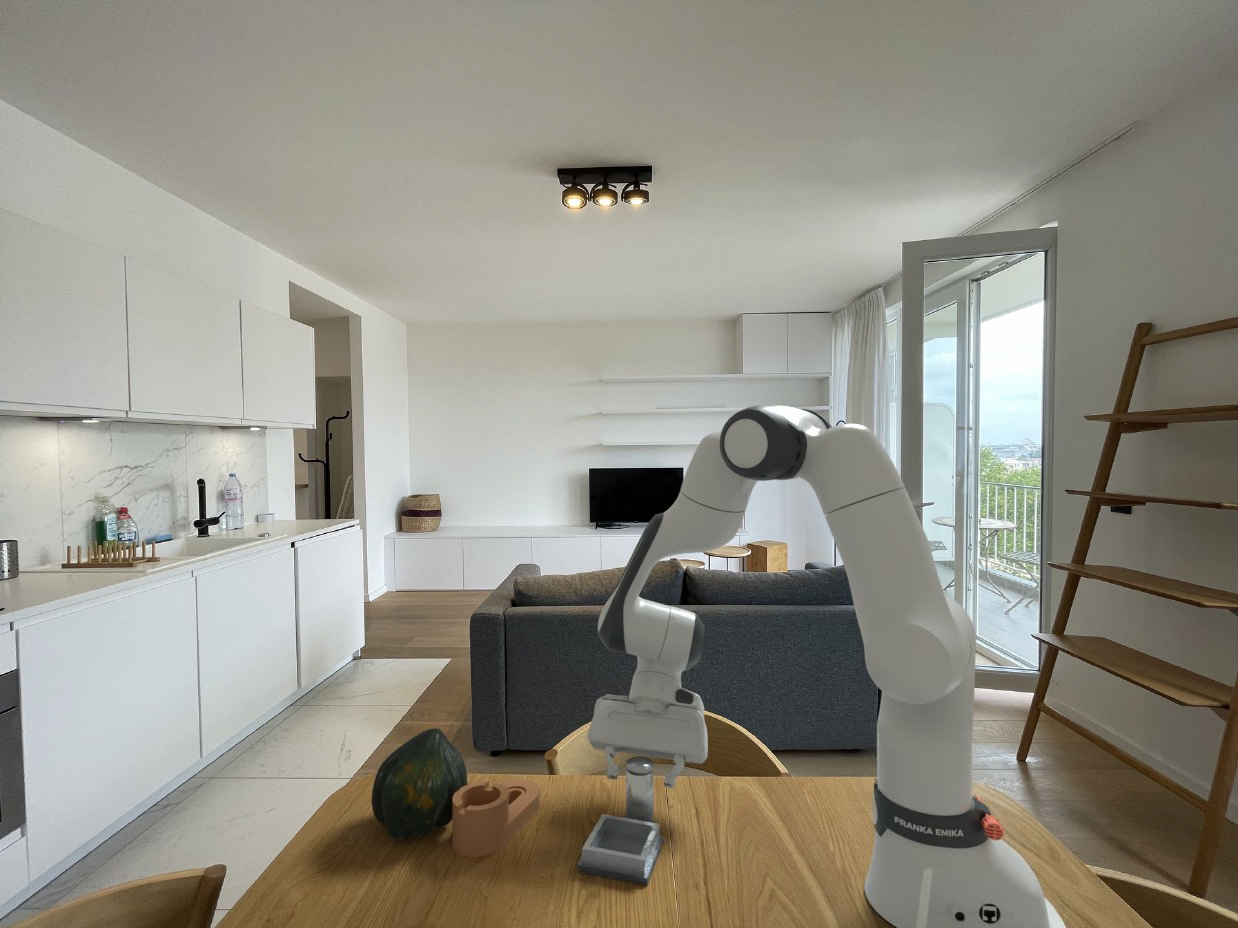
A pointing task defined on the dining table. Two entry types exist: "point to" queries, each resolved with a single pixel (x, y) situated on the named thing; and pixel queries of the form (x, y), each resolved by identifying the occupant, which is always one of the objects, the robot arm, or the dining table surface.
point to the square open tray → (622, 849)
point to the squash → (418, 785)
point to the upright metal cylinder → (640, 789)
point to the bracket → (491, 814)
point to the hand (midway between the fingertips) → (639, 782)
